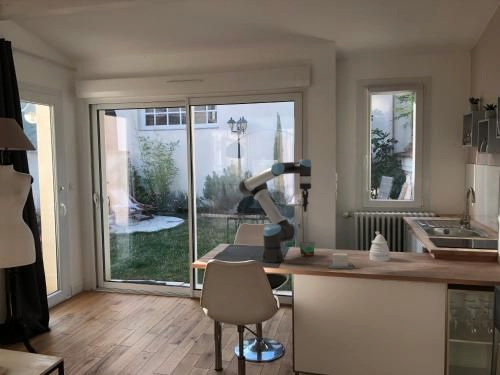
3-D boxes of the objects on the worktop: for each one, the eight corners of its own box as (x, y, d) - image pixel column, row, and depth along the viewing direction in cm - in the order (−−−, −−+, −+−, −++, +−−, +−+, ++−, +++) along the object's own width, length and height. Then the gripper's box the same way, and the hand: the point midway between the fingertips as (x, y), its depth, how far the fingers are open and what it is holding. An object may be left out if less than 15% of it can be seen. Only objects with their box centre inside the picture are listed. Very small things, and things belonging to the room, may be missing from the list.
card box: (347, 266, 261) (347, 255, 260) (333, 266, 262) (333, 254, 262) (347, 264, 266) (347, 253, 265) (332, 264, 267) (332, 253, 267)
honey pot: (365, 258, 283) (365, 232, 282) (377, 255, 290) (377, 230, 289) (381, 262, 273) (382, 234, 271) (393, 259, 280) (394, 232, 279)
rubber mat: (328, 268, 259) (328, 267, 259) (327, 263, 272) (327, 262, 272) (353, 269, 256) (353, 268, 256) (351, 263, 269) (351, 262, 269)
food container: (303, 258, 287) (303, 243, 286) (298, 256, 292) (298, 241, 292) (318, 256, 291) (318, 242, 291) (314, 254, 297) (314, 240, 296)
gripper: (310, 184, 262) (310, 217, 263) (311, 181, 286) (311, 212, 288) (298, 184, 263) (298, 217, 264) (300, 181, 287) (300, 212, 289)
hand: (305, 215), depth 276 cm, fingers open, 13 cm apart
